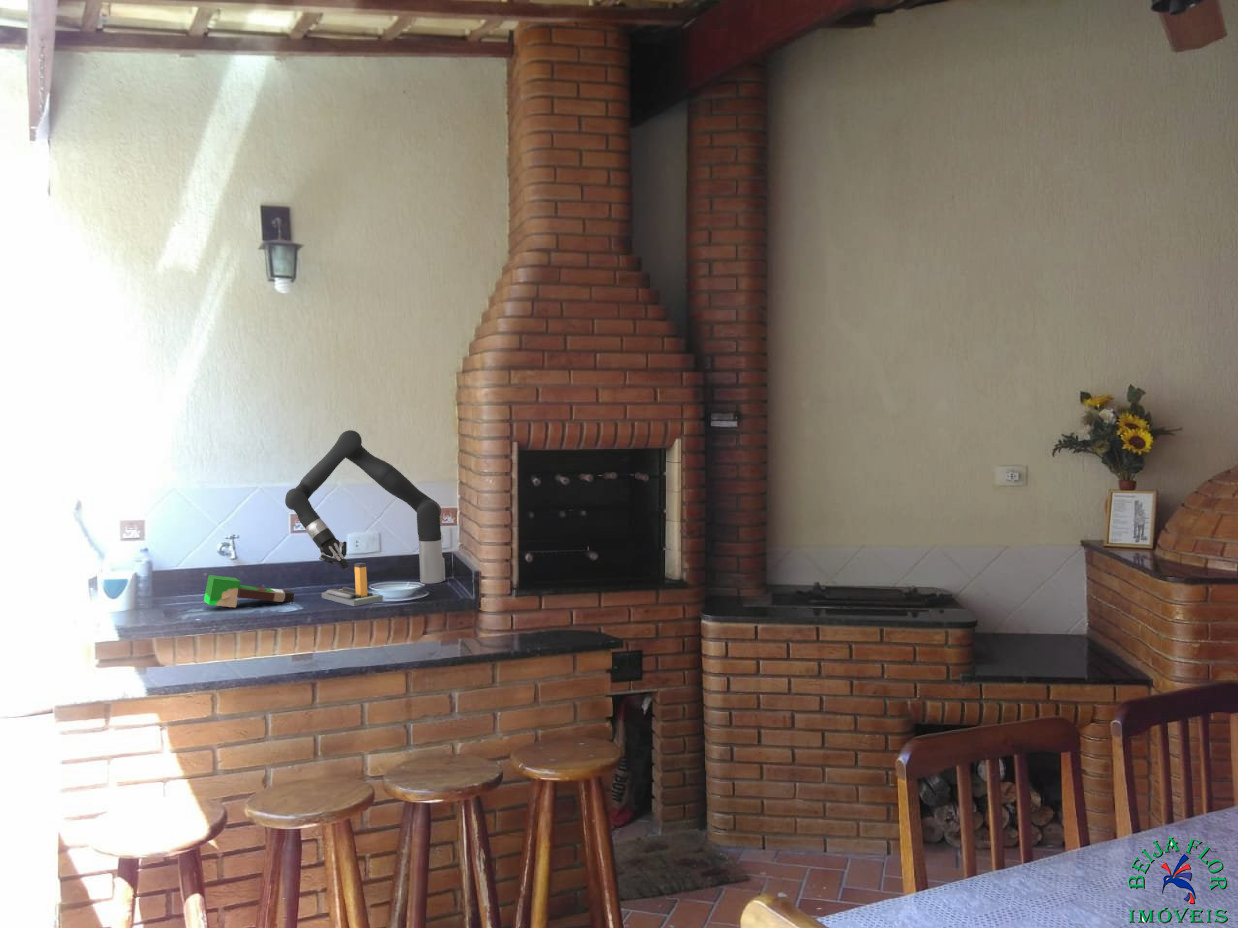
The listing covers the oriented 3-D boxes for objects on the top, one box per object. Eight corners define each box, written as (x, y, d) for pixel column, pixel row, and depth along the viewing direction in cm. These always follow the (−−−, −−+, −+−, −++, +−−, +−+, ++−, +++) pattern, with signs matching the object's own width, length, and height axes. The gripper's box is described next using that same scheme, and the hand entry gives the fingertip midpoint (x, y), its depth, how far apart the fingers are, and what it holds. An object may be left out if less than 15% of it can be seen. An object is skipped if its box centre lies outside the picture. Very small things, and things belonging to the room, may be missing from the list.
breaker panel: (349, 593, 415) (349, 583, 415) (382, 601, 398) (382, 591, 398) (321, 597, 407) (321, 588, 407) (354, 606, 390) (353, 596, 389)
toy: (282, 610, 411) (201, 602, 395) (287, 582, 411) (207, 573, 396) (292, 617, 398) (209, 609, 382) (298, 588, 399) (215, 579, 383)
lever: (362, 594, 399) (361, 562, 398) (367, 595, 397) (366, 563, 396) (355, 595, 397) (354, 563, 396) (360, 597, 395) (359, 564, 394)
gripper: (329, 529, 420) (356, 564, 420) (303, 544, 411) (329, 580, 410) (336, 521, 415) (362, 556, 414) (309, 536, 406) (336, 573, 405)
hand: (346, 568), depth 412 cm, fingers closed
